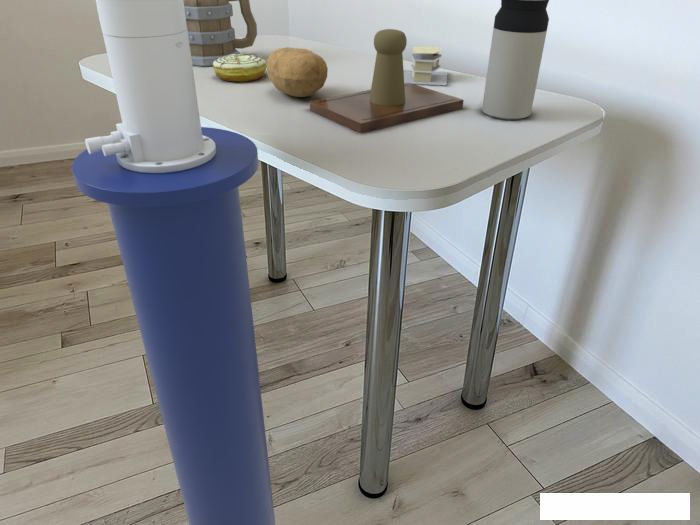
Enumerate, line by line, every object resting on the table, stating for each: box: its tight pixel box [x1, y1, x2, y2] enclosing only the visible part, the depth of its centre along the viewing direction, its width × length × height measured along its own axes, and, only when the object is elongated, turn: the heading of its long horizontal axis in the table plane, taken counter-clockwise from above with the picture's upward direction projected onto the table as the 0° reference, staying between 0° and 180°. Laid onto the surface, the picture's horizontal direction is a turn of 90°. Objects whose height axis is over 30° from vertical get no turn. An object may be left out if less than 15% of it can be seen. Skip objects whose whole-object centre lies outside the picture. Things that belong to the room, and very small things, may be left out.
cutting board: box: [309, 82, 465, 134], centre depth 91 cm, size 22×14×2 cm, turn 127°
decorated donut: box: [212, 53, 267, 83], centre depth 108 cm, size 10×11×4 cm
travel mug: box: [481, 0, 550, 121], centre depth 86 cm, size 8×8×18 cm
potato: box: [266, 47, 329, 98], centre depth 96 cm, size 10×14×8 cm
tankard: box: [183, 0, 258, 67], centre depth 119 cm, size 20×13×15 cm, turn 114°
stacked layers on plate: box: [404, 46, 448, 86], centre depth 108 cm, size 10×9×6 cm
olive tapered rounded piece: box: [369, 28, 408, 106], centre depth 88 cm, size 6×6×11 cm
